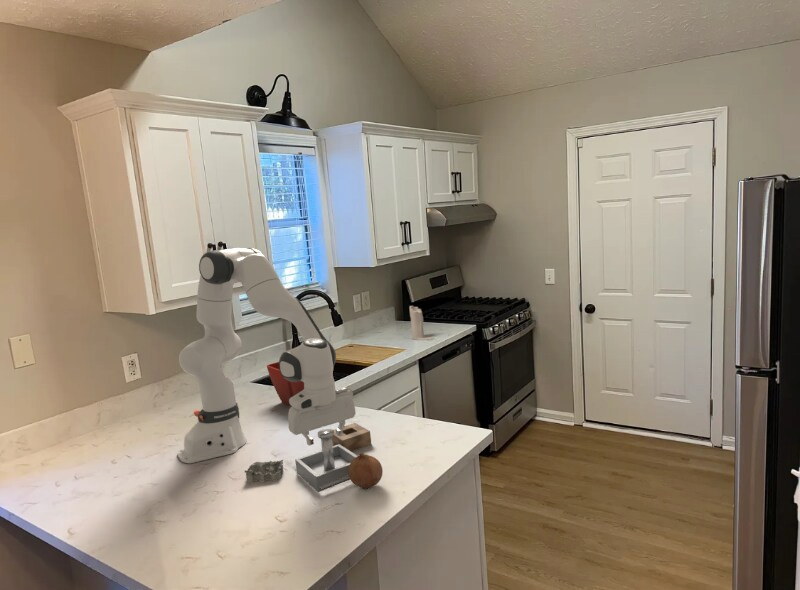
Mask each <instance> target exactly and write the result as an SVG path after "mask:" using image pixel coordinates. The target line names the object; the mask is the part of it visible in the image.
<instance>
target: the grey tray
mask: <svg viewBox="0 0 800 590" xmlns="http://www.w3.org/2000/svg"><path fill="white" fill-rule="evenodd" d="M333 454H334V458H335V457H338V456H339V457H341V458H343V459H344V460H345V461H347V462H348V463H345V464H344V465H340V466H338V467H335V468H334V469H332V470H329V471H324V472H320V473H317V472H316V471H315V470H313V469H312V468H311V467H310V466H312V465H315V464H318V463H322V462H323V454H322V449H320V450H318V451H314V452H313V453H309V454H307V455H303V456H300V457H298V458H295V459H294V461H295V462H294V463H295V470H296V474H297V475H298V477H300V478H301V479H303V480H304V481H305V482H306V483H307V484H308V485H309V486H310V487H312V488H313V489H314V490H315V491H316V492H317V493H319V492H322V491H325V490H327V489H330V488H332V487H336V486H338V485H340V484H342V483H345V482H348V481H351V480H350V478H349V474H348V469H349V465H350V463H351V461H352V460H353V459H354V458H356V457H357V456H358V455H357V454H356V453H354V452H353V451H352V452H351V451H349V450H348V449H346V448H345V447H343V446H342V445H340V444H338V445H335V446H333ZM345 477H347V478H346V479H345ZM343 478H344V479H343ZM340 479H343V480H341V481H338V482H336V483H333V484H330V483H332V482H335V481H337V480H340ZM328 484H330V485H328ZM324 485H327V486H325V487H322V486H324ZM321 487H322V488H321Z"/></svg>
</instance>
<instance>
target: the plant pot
mask: <svg viewBox="0 0 800 590" xmlns="http://www.w3.org/2000/svg"><path fill="white" fill-rule="evenodd" d="M266 369H267V371H268V374H269V378H270V380H271V383H272V385H273V387H274V389H275V392H276V394H277V396H278V398H279V399H280V401H281V403H283V404H284V405H287V406H289V407H290V408H291V407H292V406H291V405H290V403H289V399H290V398H291V397H293V396H294V395H296V394H298V393H299V392H301V391H302V390H304V382H303V381H298V382H290V381H288V380H286V379H285V378H284V377H283V376H282V375H281V373H280V370H279V361H277V362H273V363H268V364H267V365H266Z"/></svg>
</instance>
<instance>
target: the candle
mask: <svg viewBox="0 0 800 590" xmlns="http://www.w3.org/2000/svg"><path fill="white" fill-rule="evenodd" d="M409 317H410V324H411V325H410V326H411V328H410V329H411V339H412V340H416V341H417V340H419V341H429V340H430V341H431V340H434V339H435V338H434V337H431V336H425V332H424V315H423V311H422V308H419V307H418V306H414V305H409Z"/></svg>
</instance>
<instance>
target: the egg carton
mask: <svg viewBox="0 0 800 590" xmlns="http://www.w3.org/2000/svg"><path fill="white" fill-rule="evenodd" d="M283 464H284V459H281V460H276V461H272V460H270V461H264V462H262V461H255V462H253V463H251V464H250V465H249V467H248V468H247V470H244V474H245V479H246V482H249V483H252V484H253V483H255V482H256V481H260V482H261V483H262V482H265V481H268V480H271V481H272V482H274V481H277V480H279V479H281V478H282V475H281V474H283V473H284V465H283ZM264 472H265V473H264Z"/></svg>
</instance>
